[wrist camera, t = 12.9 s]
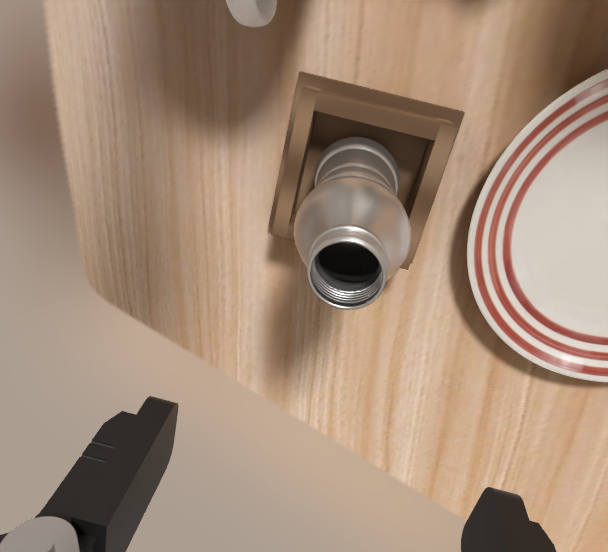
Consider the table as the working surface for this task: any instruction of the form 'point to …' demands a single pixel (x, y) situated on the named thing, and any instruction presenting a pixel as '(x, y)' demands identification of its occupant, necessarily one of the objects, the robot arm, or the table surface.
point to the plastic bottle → (352, 224)
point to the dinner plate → (549, 237)
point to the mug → (252, 11)
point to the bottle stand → (369, 124)
